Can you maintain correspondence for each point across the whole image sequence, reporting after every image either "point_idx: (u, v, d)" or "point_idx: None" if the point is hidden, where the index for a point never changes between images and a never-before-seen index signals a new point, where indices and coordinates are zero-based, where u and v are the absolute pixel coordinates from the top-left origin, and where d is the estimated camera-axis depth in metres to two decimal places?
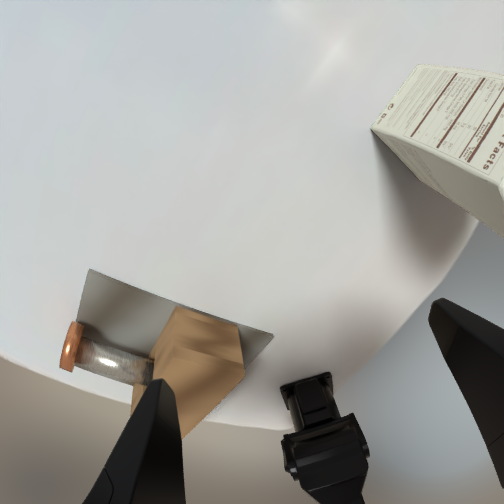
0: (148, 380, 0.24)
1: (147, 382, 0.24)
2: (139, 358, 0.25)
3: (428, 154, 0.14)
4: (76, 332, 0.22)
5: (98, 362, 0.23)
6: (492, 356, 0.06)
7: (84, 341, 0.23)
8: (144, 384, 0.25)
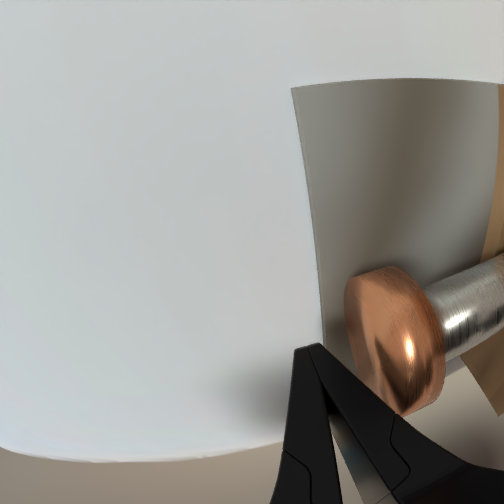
0: None
1: None
2: None
3: None
4: (402, 287, 0.07)
5: (478, 322, 0.07)
6: (347, 426, 0.06)
7: None
8: None
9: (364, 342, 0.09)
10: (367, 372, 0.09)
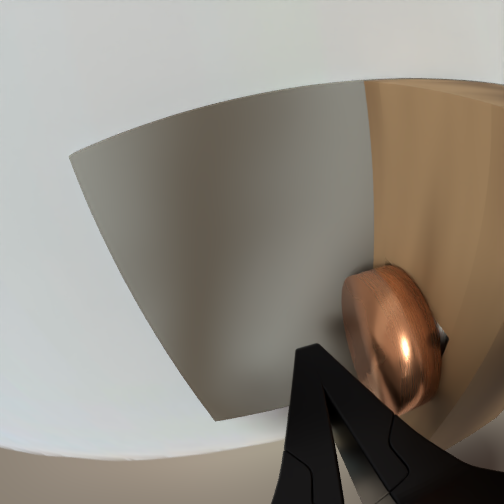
0: None
1: None
2: None
3: None
4: (398, 286, 0.07)
5: None
6: (345, 427, 0.06)
7: None
8: None
9: (361, 341, 0.09)
10: (364, 371, 0.09)
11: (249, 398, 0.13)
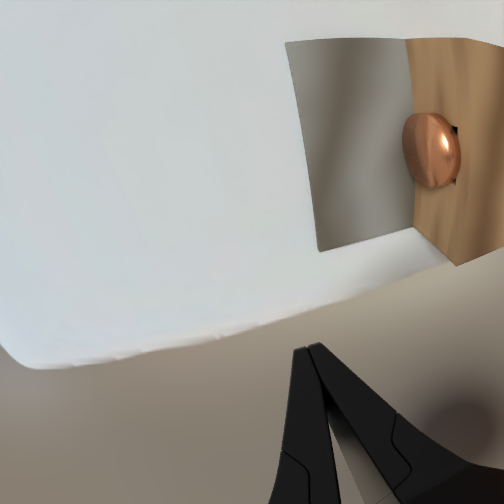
0: None
1: None
2: None
3: None
4: (430, 113, 0.14)
5: None
6: (348, 426, 0.06)
7: None
8: None
9: (418, 150, 0.16)
10: (423, 168, 0.16)
11: (347, 223, 0.20)
